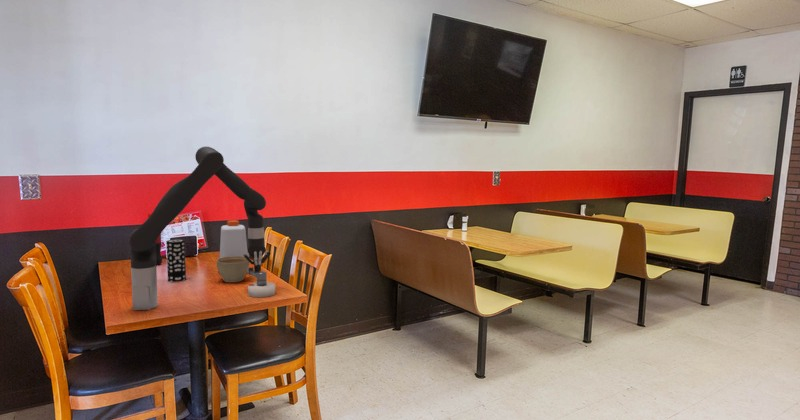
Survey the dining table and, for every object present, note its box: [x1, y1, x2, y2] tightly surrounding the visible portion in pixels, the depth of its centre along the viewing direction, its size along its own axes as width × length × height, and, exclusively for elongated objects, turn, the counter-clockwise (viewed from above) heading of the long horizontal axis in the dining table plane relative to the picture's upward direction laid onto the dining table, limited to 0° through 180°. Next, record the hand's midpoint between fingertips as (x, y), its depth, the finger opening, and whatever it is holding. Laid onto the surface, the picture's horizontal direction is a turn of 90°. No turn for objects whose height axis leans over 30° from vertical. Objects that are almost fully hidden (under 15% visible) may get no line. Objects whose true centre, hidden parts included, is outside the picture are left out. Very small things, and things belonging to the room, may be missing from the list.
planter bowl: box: [215, 256, 250, 283], centre depth 240 cm, size 16×16×11 cm
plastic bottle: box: [219, 219, 248, 273], centre depth 257 cm, size 15×15×28 cm
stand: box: [247, 281, 276, 299], centre depth 219 cm, size 12×12×5 cm
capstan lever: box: [247, 267, 268, 286], centre depth 222 cm, size 14×4×6 cm, turn 43°
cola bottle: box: [147, 212, 163, 267], centre depth 268 cm, size 8×8×30 cm
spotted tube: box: [165, 238, 187, 283], centre depth 238 cm, size 8×8×20 cm
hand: (257, 272), depth 228 cm, fingers closed
